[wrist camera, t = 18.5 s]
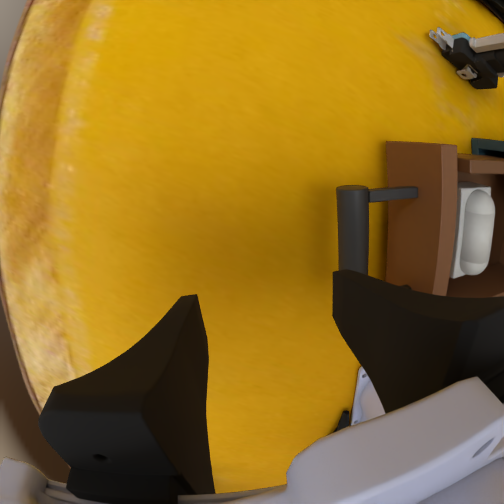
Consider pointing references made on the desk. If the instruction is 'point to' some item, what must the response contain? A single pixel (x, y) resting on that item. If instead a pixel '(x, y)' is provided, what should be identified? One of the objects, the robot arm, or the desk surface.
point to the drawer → (423, 219)
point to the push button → (474, 56)
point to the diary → (496, 7)
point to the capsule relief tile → (472, 229)
